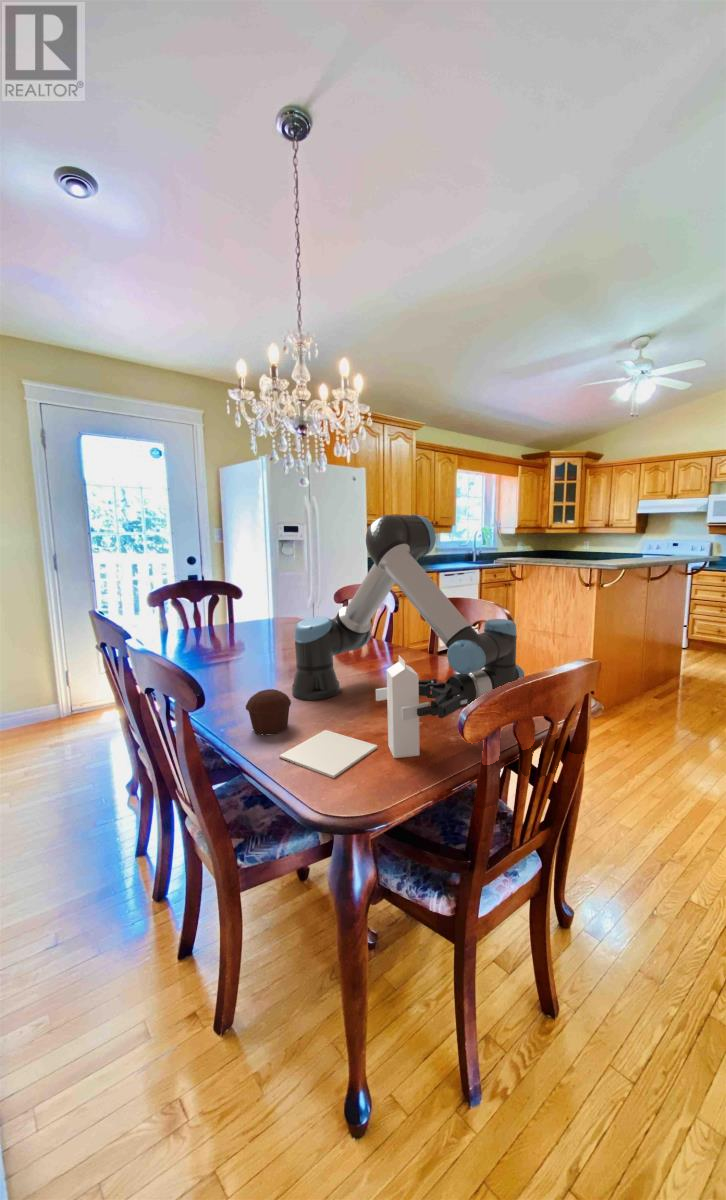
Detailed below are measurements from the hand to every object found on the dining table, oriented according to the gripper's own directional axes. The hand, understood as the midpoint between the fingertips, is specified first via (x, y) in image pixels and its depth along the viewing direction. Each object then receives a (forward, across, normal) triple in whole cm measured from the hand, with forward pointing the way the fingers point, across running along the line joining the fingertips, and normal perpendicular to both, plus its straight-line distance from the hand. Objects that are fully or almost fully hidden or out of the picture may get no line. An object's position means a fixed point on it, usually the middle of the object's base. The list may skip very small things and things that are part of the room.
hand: (388, 704), depth 103 cm
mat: (+12, +7, -12) cm, 18 cm away
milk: (-4, 0, -12) cm, 13 cm away
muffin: (+21, +27, -12) cm, 37 cm away
